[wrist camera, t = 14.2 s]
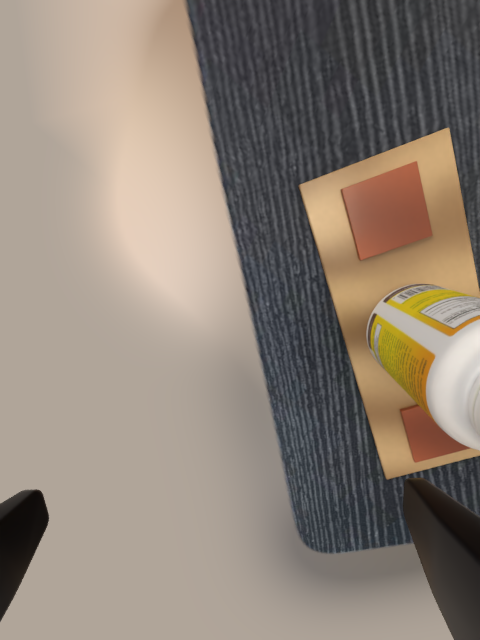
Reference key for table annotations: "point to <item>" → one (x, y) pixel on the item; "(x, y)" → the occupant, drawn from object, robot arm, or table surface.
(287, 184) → the table surface
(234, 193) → the table surface
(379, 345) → the supplement bottle
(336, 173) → the wood board
